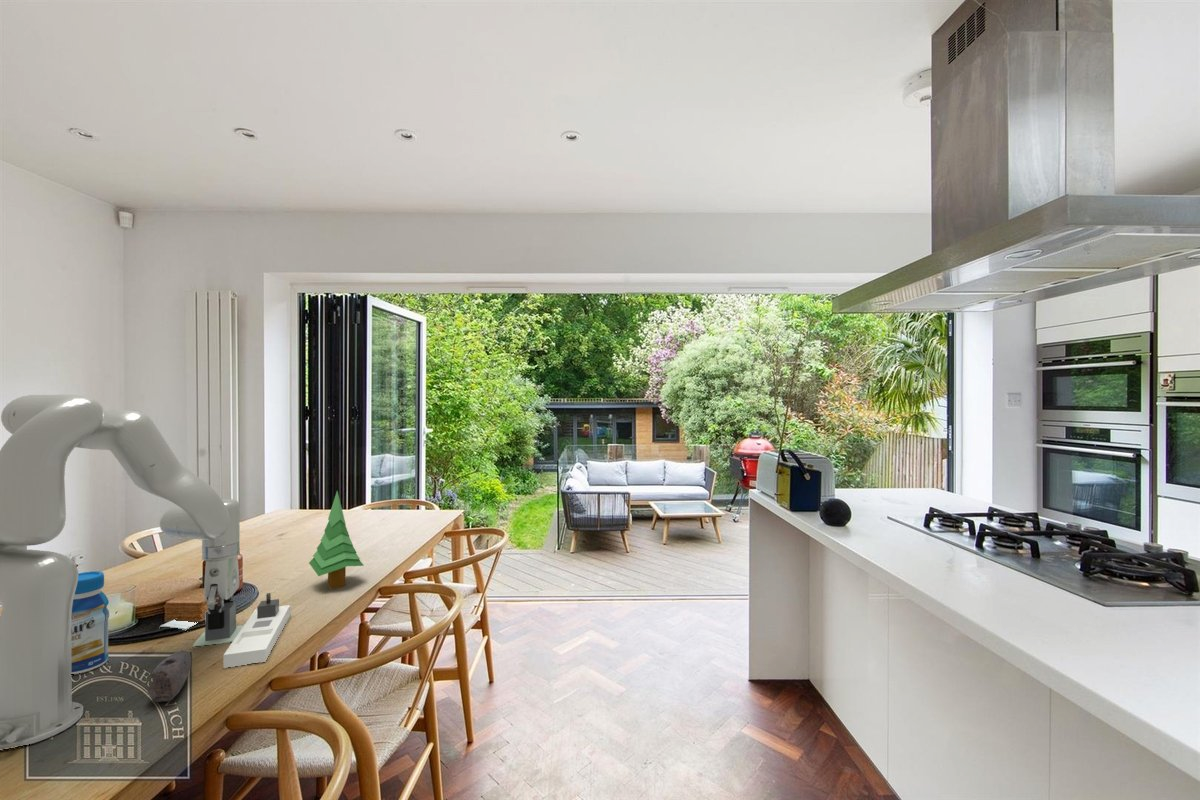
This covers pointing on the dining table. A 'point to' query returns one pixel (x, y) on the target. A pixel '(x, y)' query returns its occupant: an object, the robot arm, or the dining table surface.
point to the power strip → (258, 634)
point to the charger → (228, 623)
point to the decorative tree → (335, 549)
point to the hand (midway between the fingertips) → (220, 622)
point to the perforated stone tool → (170, 676)
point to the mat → (202, 641)
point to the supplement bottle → (89, 623)
